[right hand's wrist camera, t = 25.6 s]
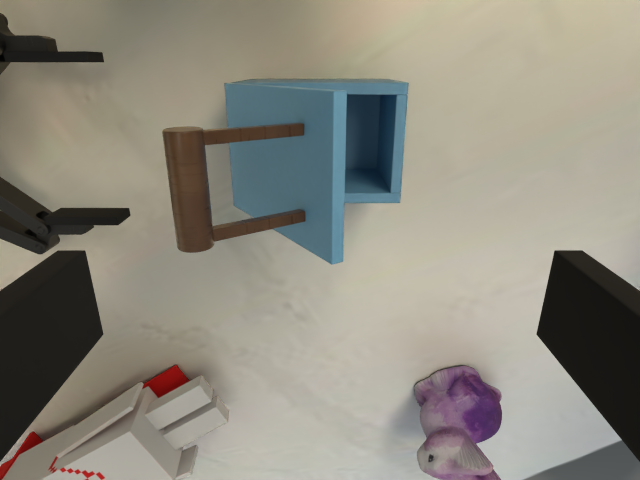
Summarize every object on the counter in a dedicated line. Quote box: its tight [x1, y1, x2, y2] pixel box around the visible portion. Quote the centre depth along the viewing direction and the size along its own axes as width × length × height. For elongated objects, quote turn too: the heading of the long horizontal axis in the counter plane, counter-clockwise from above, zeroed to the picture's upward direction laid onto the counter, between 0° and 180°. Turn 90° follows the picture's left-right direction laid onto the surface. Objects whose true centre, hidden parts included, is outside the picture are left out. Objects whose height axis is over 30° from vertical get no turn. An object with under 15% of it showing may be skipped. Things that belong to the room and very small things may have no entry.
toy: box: [0, 365, 229, 480], centre depth 55 cm, size 12×13×30 cm
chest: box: [233, 79, 409, 203], centre depth 41 cm, size 14×10×11 cm
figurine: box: [415, 366, 502, 480], centre depth 51 cm, size 9×10×15 cm
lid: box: [162, 83, 347, 264], centre depth 28 cm, size 14×10×9 cm
